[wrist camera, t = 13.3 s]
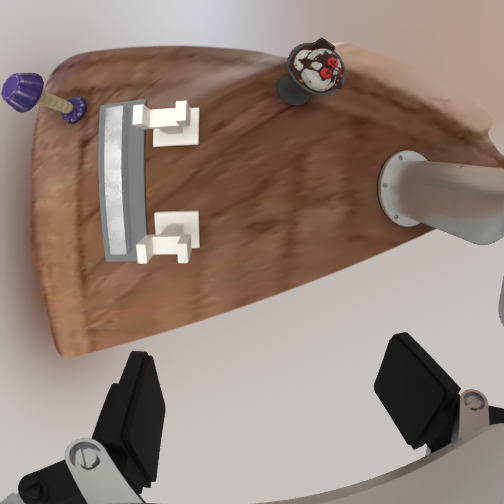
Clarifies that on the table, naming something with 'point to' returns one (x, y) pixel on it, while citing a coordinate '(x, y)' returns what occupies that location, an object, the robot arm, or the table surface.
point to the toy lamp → (39, 97)
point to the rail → (117, 179)
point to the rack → (170, 222)
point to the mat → (134, 182)
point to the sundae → (311, 72)
